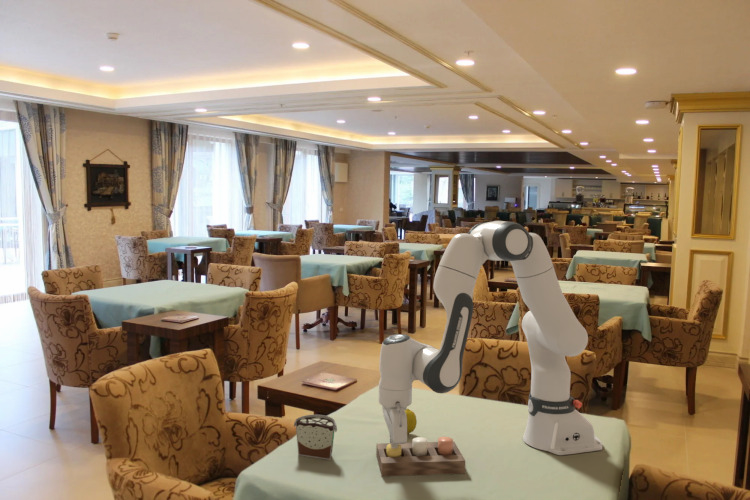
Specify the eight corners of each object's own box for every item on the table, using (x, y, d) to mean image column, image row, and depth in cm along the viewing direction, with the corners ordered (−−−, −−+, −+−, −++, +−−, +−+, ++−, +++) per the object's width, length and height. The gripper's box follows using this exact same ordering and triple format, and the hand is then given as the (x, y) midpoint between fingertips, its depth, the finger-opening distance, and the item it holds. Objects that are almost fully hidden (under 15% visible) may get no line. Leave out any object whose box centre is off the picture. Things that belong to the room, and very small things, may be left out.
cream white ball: (425, 449, 161) (425, 437, 161) (428, 456, 157) (428, 443, 157) (411, 449, 160) (411, 437, 160) (413, 456, 156) (413, 443, 156)
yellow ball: (399, 455, 160) (400, 443, 160) (402, 462, 156) (402, 449, 156) (385, 456, 160) (385, 443, 159) (387, 462, 156) (387, 449, 156)
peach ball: (450, 448, 162) (451, 436, 161) (454, 455, 158) (454, 442, 157) (436, 449, 161) (436, 436, 161) (439, 455, 157) (439, 443, 157)
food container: (342, 451, 166) (343, 416, 165) (335, 460, 160) (335, 425, 159) (301, 445, 169) (302, 411, 168) (293, 454, 164) (293, 419, 163)
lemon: (414, 439, 176) (415, 412, 175) (396, 437, 177) (397, 411, 176) (417, 431, 181) (418, 406, 180) (399, 429, 182) (400, 404, 181)
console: (453, 453, 166) (454, 441, 166) (464, 473, 154) (465, 460, 154) (376, 455, 164) (376, 443, 163) (381, 476, 152) (381, 463, 151)
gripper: (413, 410, 146) (412, 463, 148) (401, 383, 167) (399, 431, 168) (388, 410, 146) (387, 464, 147) (378, 384, 166) (377, 431, 167)
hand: (393, 446), depth 158 cm, fingers closed
